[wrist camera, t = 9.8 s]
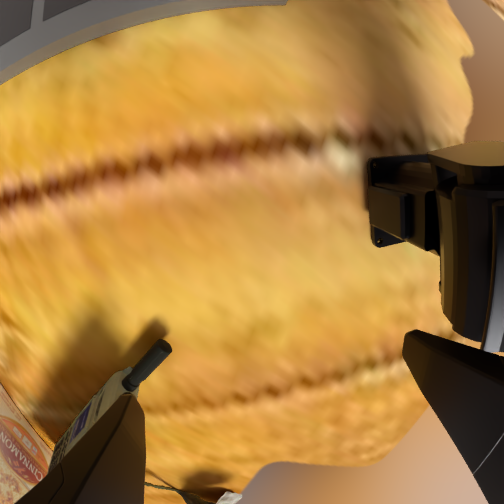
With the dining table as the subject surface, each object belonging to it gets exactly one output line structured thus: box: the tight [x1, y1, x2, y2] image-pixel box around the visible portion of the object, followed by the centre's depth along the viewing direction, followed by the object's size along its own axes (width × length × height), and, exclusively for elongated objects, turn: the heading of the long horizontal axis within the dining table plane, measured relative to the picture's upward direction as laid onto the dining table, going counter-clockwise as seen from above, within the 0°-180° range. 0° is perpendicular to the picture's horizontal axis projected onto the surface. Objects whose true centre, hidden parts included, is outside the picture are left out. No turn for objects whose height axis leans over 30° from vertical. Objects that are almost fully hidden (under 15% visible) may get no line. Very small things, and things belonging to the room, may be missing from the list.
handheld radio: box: [47, 339, 172, 474], centre depth 20 cm, size 7×3×25 cm
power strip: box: [0, 0, 288, 85], centre depth 10 cm, size 33×10×3 cm, turn 99°
